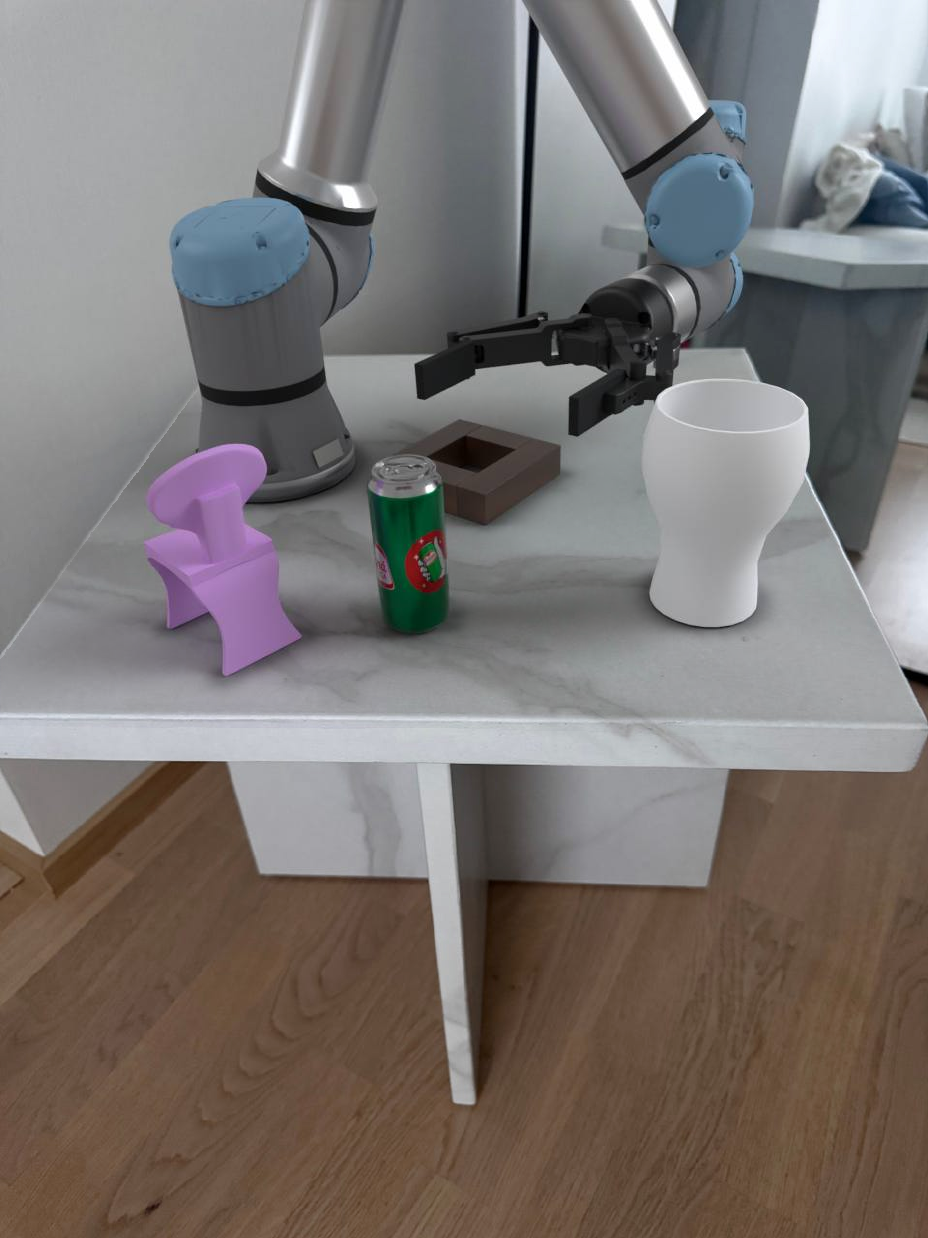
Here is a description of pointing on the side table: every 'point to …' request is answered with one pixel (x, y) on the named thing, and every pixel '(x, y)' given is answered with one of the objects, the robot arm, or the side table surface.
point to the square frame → (487, 467)
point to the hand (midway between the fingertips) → (491, 398)
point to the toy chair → (219, 553)
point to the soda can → (409, 542)
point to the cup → (719, 491)
